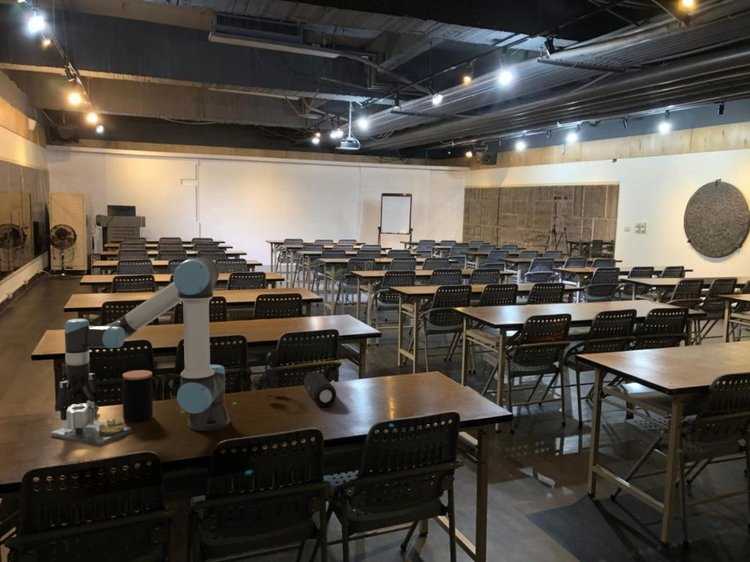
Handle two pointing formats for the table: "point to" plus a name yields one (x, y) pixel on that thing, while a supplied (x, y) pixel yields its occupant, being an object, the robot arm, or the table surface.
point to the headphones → (267, 374)
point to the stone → (94, 409)
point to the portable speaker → (319, 388)
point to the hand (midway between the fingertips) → (78, 423)
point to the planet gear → (81, 415)
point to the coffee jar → (137, 396)
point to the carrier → (94, 433)
